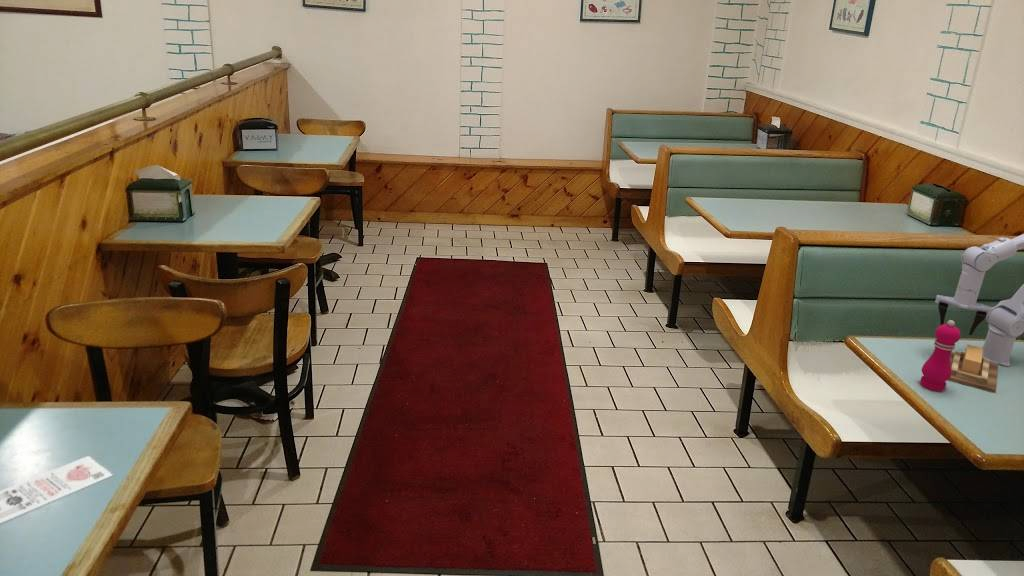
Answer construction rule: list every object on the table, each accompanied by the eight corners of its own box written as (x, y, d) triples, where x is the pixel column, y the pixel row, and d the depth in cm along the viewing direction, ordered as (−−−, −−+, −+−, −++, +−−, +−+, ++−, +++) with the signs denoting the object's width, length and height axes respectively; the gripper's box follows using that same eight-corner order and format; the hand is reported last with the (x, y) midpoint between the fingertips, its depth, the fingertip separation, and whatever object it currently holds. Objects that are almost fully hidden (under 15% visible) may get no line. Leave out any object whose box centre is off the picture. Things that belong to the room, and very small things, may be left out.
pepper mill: (951, 388, 210) (972, 322, 203) (938, 394, 207) (958, 327, 199) (926, 377, 216) (945, 313, 209) (912, 383, 212) (931, 317, 205)
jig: (944, 353, 232) (946, 345, 231) (997, 366, 225) (999, 359, 225) (938, 377, 216) (940, 369, 215) (994, 392, 210) (997, 384, 209)
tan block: (962, 359, 226) (967, 344, 224) (978, 363, 224) (983, 348, 223) (960, 374, 217) (965, 358, 215) (976, 378, 215) (981, 363, 213)
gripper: (939, 285, 220) (927, 328, 225) (997, 298, 213) (983, 341, 218) (941, 279, 226) (929, 320, 231) (997, 291, 219) (984, 333, 224)
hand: (955, 330), depth 225 cm, fingers open, 7 cm apart
